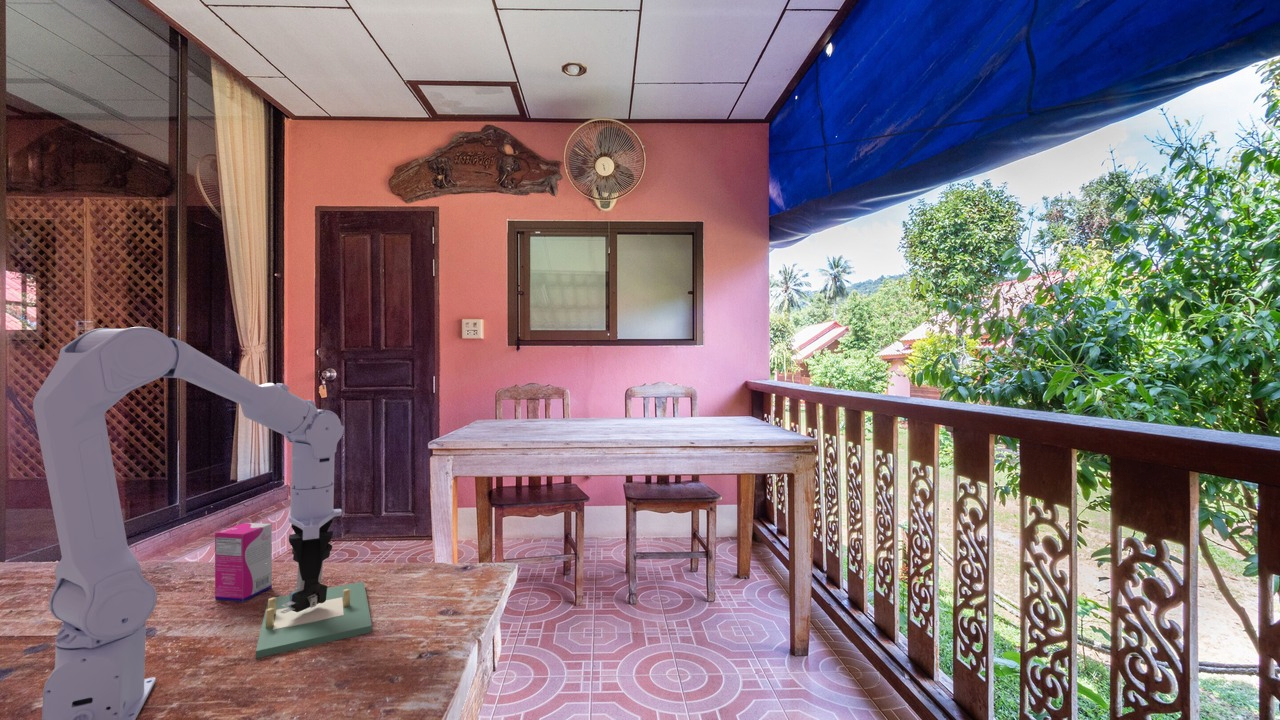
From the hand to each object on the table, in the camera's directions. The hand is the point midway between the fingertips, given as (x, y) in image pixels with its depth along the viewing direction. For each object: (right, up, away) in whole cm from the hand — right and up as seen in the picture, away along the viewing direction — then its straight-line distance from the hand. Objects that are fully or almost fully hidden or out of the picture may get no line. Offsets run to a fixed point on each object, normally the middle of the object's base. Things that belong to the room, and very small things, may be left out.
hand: (310, 572), depth 81 cm
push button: (-1, -5, -1) cm, 5 cm away
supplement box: (-17, -7, +8) cm, 20 cm away
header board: (+1, -7, 0) cm, 7 cm away
